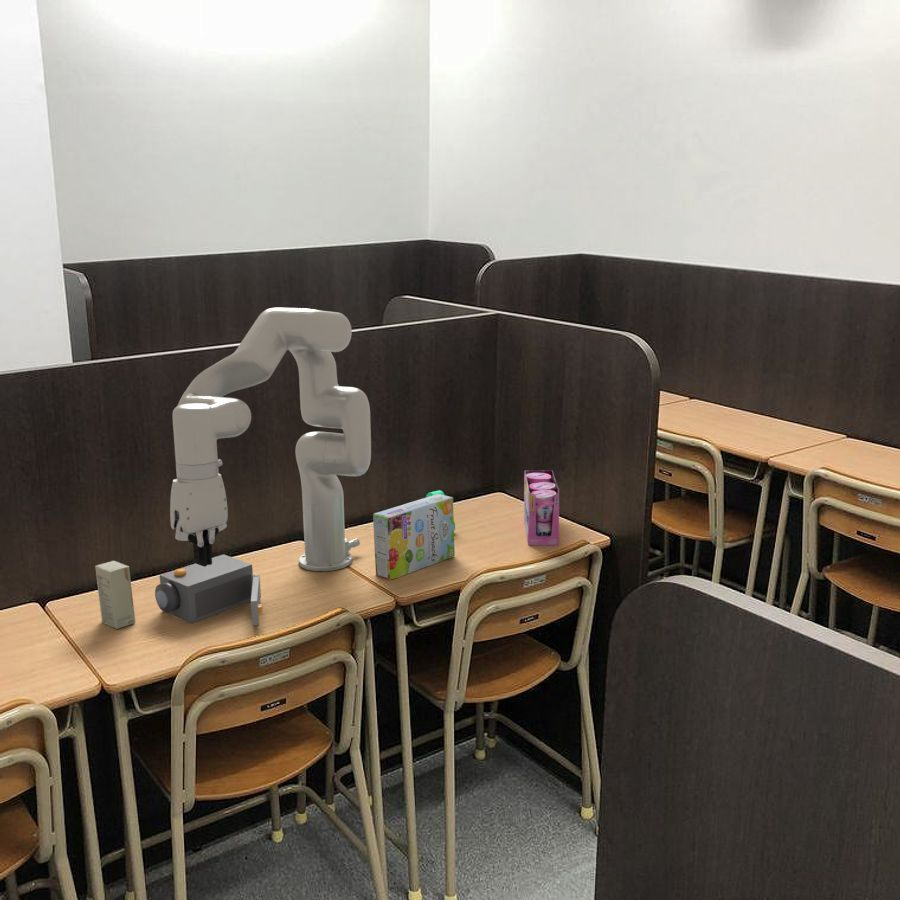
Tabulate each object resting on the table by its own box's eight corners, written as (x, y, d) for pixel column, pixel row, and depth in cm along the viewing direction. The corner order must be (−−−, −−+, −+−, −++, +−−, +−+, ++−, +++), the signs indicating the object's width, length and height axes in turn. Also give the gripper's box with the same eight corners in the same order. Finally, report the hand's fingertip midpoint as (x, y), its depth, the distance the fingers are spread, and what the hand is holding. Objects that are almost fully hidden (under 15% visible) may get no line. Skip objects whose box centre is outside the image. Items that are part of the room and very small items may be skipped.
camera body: (225, 588, 209) (223, 550, 207) (254, 599, 202) (252, 561, 200) (151, 614, 195) (148, 574, 193) (179, 627, 189) (176, 586, 187)
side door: (254, 596, 202) (253, 574, 201) (264, 595, 202) (263, 573, 201) (251, 625, 188) (250, 601, 187) (262, 624, 188) (261, 600, 187)
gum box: (560, 547, 233) (561, 494, 230) (527, 547, 233) (528, 495, 230) (552, 518, 256) (553, 469, 253) (523, 518, 256) (523, 469, 253)
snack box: (438, 551, 231) (438, 492, 227) (455, 557, 227) (455, 497, 223) (374, 575, 216) (372, 512, 212) (390, 581, 212) (388, 517, 209)
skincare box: (136, 623, 191) (131, 566, 188) (116, 630, 188) (110, 572, 185) (119, 615, 195) (114, 559, 192) (100, 621, 192) (94, 564, 189)
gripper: (218, 460, 183) (224, 550, 187) (150, 474, 172) (157, 570, 176) (242, 465, 178) (247, 558, 182) (174, 481, 167) (181, 579, 171)
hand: (203, 563), depth 179 cm, fingers closed
